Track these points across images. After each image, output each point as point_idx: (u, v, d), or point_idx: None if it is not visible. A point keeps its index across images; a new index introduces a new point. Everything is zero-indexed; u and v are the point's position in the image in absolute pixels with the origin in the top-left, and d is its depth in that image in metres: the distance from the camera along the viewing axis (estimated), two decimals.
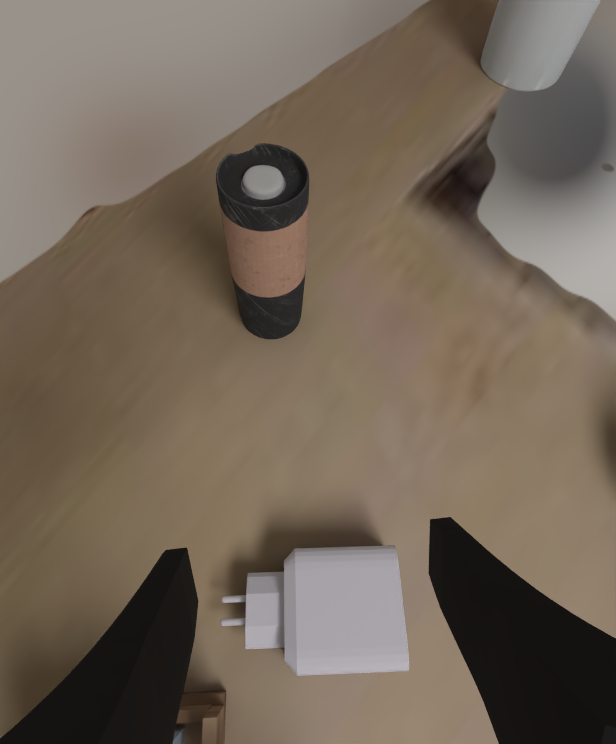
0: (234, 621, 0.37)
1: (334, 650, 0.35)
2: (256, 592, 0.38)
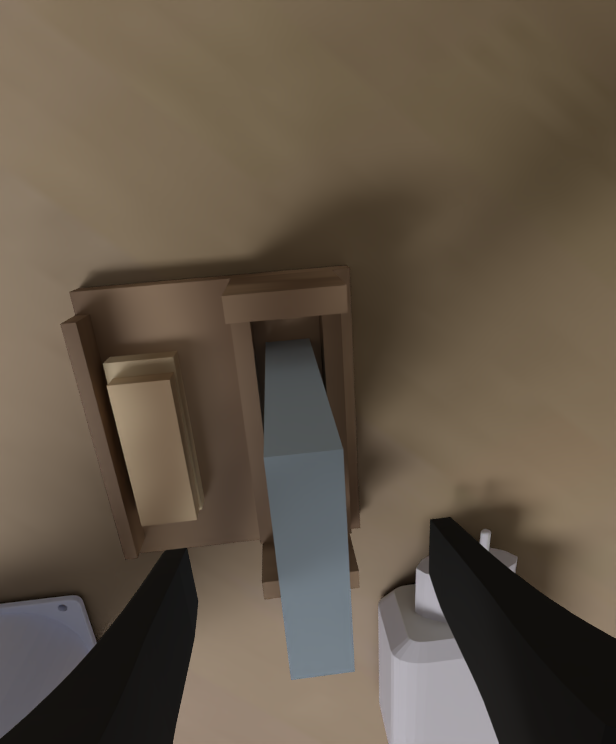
0: None
1: (424, 700, 0.25)
2: None
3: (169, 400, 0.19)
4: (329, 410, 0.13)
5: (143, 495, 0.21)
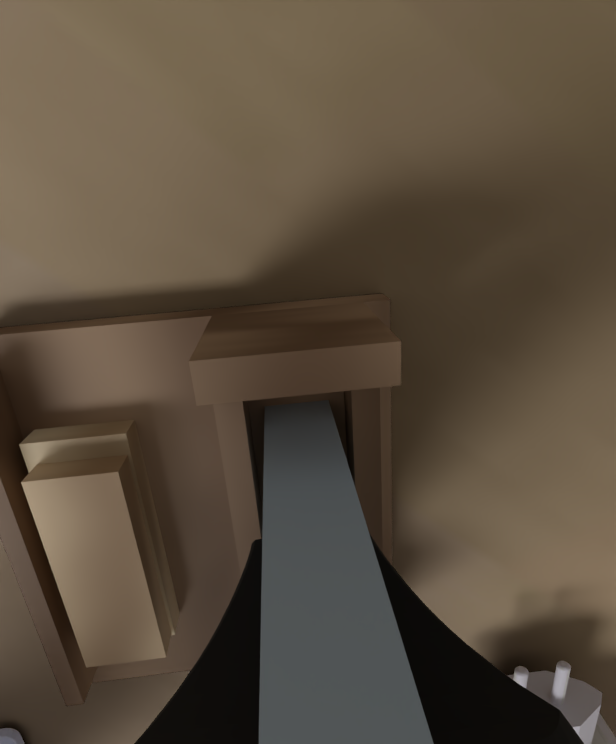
0: None
1: None
2: None
3: (119, 500, 0.13)
4: (387, 604, 0.07)
5: (86, 628, 0.14)
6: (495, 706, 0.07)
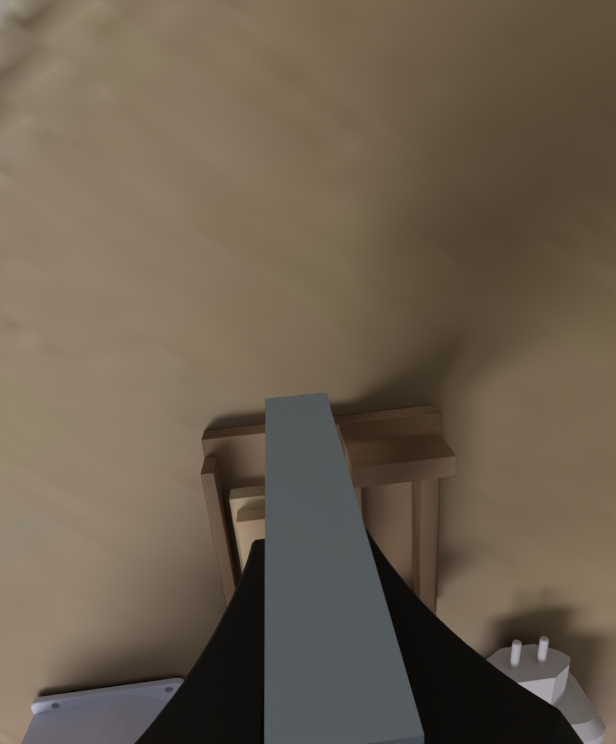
0: (517, 657, 0.27)
1: None
2: (555, 685, 0.28)
3: None
4: (378, 585, 0.08)
5: None
6: (495, 707, 0.07)
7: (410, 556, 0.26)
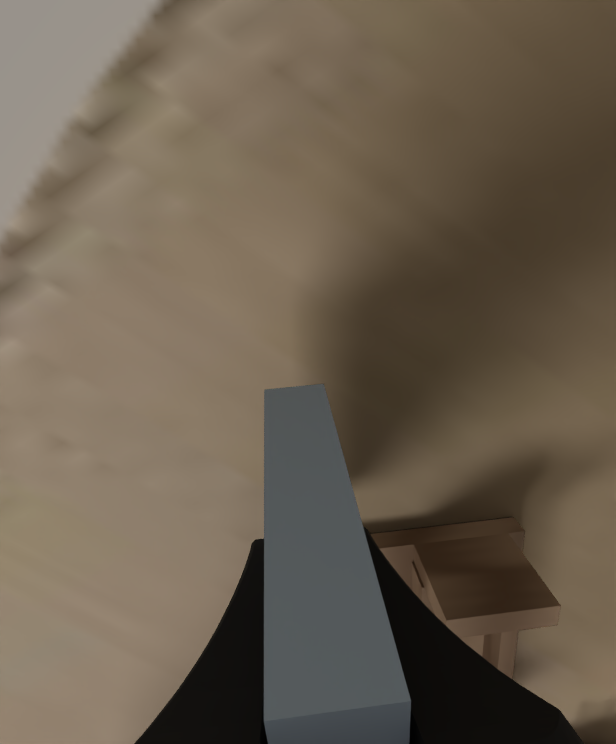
0: None
1: None
2: None
3: None
4: (371, 566, 0.08)
5: None
6: (495, 706, 0.07)
7: None
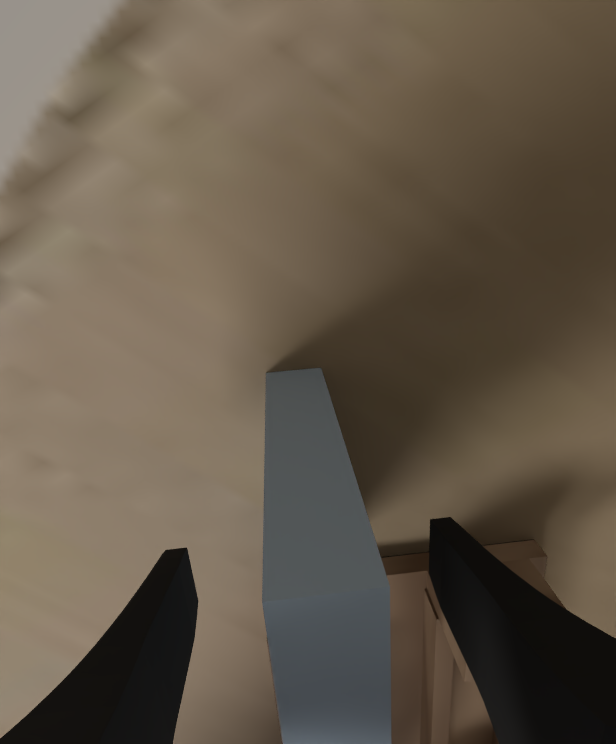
0: None
1: None
2: None
3: None
4: (359, 497, 0.09)
5: None
6: None
7: None
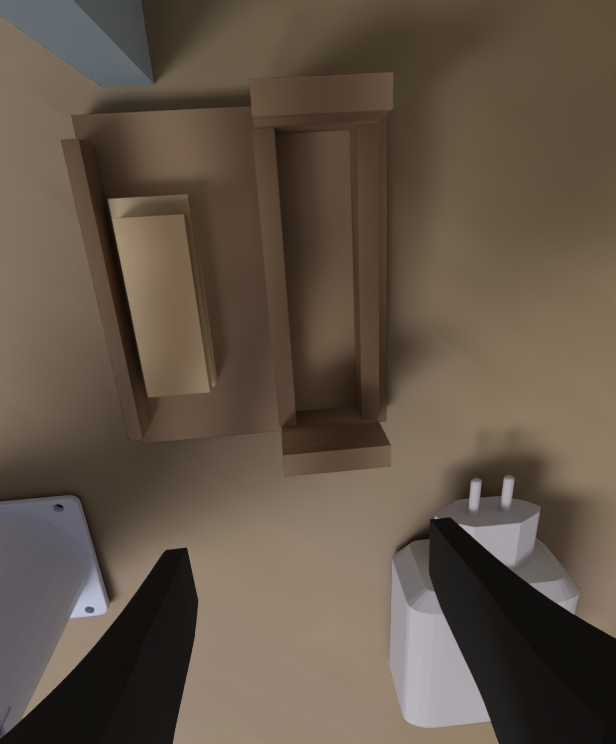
0: (476, 500, 0.23)
1: (440, 655, 0.24)
2: (521, 534, 0.23)
3: (182, 240, 0.17)
4: None
5: (151, 359, 0.19)
6: None
7: (352, 325, 0.21)
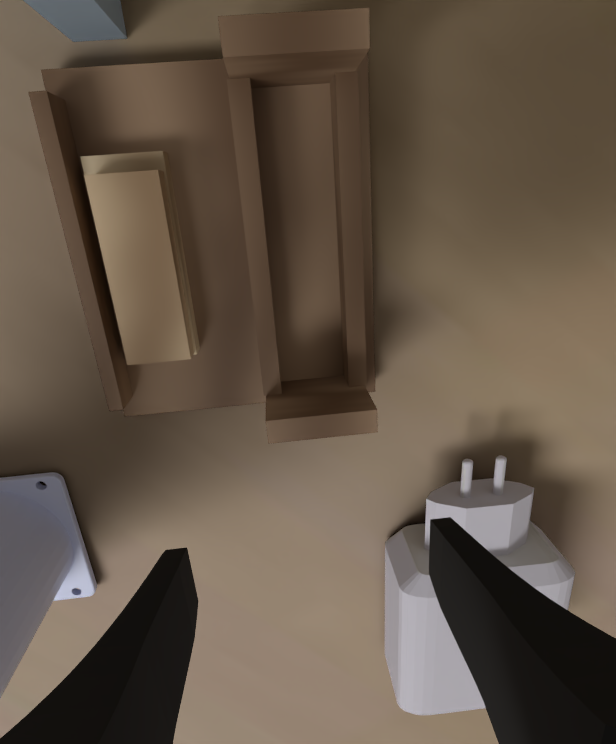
0: (468, 481, 0.23)
1: (434, 640, 0.23)
2: (513, 516, 0.23)
3: (157, 198, 0.16)
4: None
5: (128, 324, 0.18)
6: None
7: (338, 290, 0.20)
